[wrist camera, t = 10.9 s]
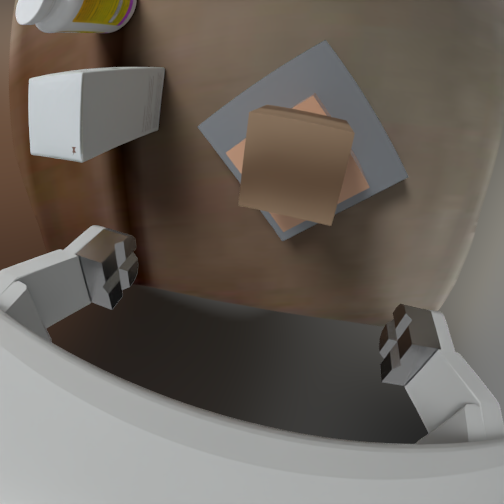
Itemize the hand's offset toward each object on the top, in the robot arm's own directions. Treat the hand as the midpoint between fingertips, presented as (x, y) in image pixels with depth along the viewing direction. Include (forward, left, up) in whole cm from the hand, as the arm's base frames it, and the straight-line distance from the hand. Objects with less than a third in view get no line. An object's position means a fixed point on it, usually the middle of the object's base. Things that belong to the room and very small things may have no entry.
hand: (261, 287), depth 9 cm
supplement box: (+12, -15, -23) cm, 30 cm away
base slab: (0, 0, -23) cm, 23 cm away
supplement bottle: (+7, -26, -23) cm, 35 cm away
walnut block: (-1, -1, -13) cm, 13 cm away
